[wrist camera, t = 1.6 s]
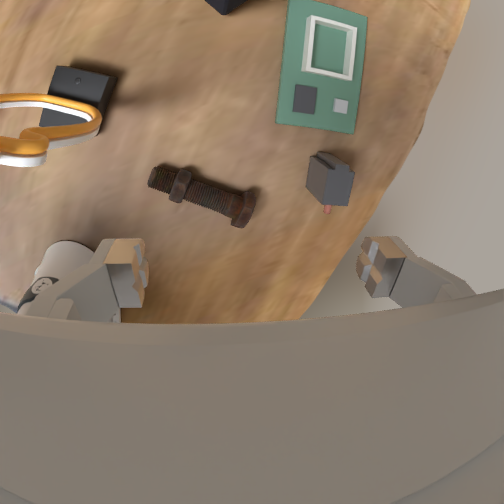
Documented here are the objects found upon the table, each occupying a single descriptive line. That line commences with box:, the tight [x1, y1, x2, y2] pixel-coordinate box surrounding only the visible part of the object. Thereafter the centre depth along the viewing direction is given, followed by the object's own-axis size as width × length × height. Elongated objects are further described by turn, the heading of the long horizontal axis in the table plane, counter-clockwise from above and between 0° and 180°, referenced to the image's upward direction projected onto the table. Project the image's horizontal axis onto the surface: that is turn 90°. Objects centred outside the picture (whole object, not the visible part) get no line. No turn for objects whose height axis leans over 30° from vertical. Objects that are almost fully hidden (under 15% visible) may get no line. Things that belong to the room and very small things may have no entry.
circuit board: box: [275, 0, 367, 134], centre depth 32 cm, size 20×12×3 cm, turn 175°
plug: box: [306, 152, 355, 214], centre depth 39 cm, size 8×4×7 cm, turn 175°
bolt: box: [148, 167, 256, 228], centre depth 39 cm, size 6×5×15 cm
